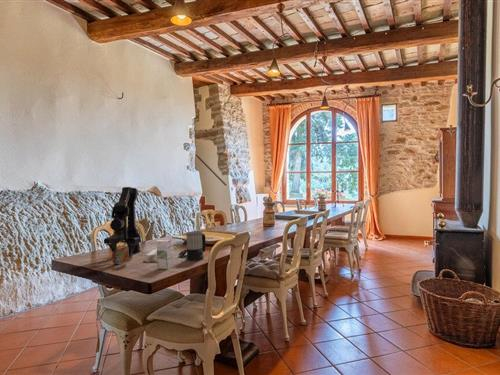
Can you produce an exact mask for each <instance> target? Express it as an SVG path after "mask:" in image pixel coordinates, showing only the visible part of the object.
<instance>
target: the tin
mask: <svg viewBox="0 0 500 375" xmlns="http://www.w3.org/2000/svg"><path fill="white" fill-rule="evenodd" d="M133 256H134V253H133V252H132V255H131V256H130V257H129V247H128V246H127V245H126V246H122V247H120V248H117V249H116V250H114V251H113V252H112V253H111V259H112V264H114V265H119V266H120V264H121V265H123V264H125V263H128V262H130V261H131V260H132V258H133Z"/></svg>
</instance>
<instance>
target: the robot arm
mask: <svg viewBox="0 0 500 375" xmlns="http://www.w3.org/2000/svg"><path fill="white" fill-rule="evenodd" d="M138 195H139V190H138V188H136V187H132V186H131V187H130V186H123V187H122V188H121V194H120V196H119V199H118V201H117V202H115V203H114V205H113V207H112V209H111V215H110V216H111V217H110V218H111V219H113V220H112V221H110V224H109V226H110V229H112V231H114V232H113V234H112V235H111V236H108V237H106V238H104V240H103V244H104V245H106V246H108V247H109V248H110V250H111V252H112V253H113V251H114V250H116V249H118V248H117V246H118V245H117V244H119V243H125V244H127V245H126V246H128V247H129V257H130V256H131V255H132V252H133V254H137V253H140V252H141V246H140V243H142V238H141V235H140V232H139V229H138V228H137V226H136V203H135V202H136V201H137V199H138Z"/></svg>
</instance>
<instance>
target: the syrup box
mask: <svg viewBox="0 0 500 375" xmlns="http://www.w3.org/2000/svg"><path fill="white" fill-rule="evenodd" d="M155 242H156V248H157V270H170V269H171V268H173V254H172V245H173V244H172V238H160V239H157V240H156V241H155Z"/></svg>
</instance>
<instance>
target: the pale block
mask: <svg viewBox="0 0 500 375" xmlns="http://www.w3.org/2000/svg"><path fill="white" fill-rule="evenodd" d="M174 254H175V247H172V255H174ZM144 262H148V263H149V262H151V263H152V262H153V263H154V262H157V247H156V248H154V249H153V250H151V251H149V252H147V253H146V254H144Z"/></svg>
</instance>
